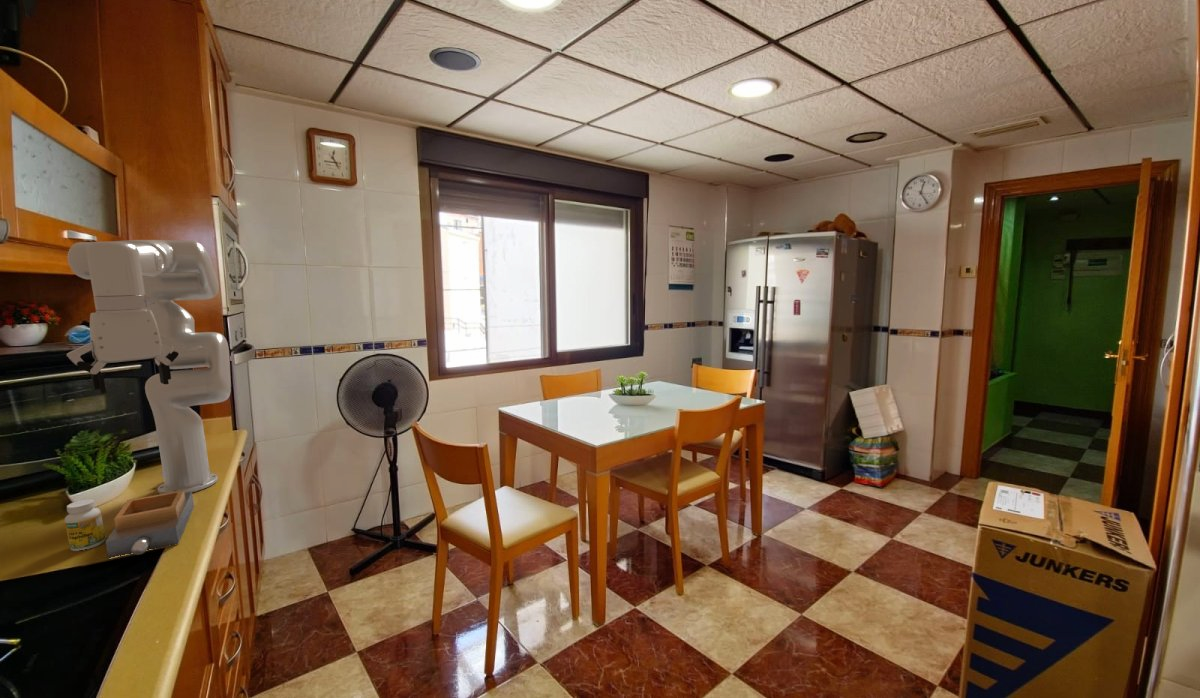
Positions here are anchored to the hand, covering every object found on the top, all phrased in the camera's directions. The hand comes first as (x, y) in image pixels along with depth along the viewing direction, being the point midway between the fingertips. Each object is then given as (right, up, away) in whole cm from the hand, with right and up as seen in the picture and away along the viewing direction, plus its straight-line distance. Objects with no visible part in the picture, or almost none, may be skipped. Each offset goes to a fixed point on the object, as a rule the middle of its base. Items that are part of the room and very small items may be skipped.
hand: (134, 387), depth 103 cm
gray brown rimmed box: (-4, -33, +8) cm, 34 cm away
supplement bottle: (-14, -34, +4) cm, 37 cm away
